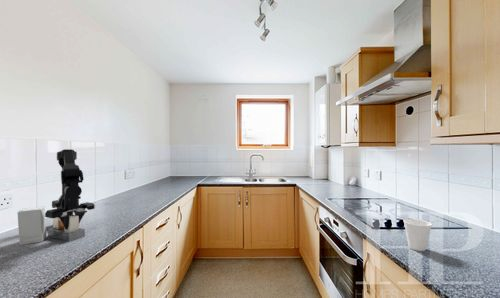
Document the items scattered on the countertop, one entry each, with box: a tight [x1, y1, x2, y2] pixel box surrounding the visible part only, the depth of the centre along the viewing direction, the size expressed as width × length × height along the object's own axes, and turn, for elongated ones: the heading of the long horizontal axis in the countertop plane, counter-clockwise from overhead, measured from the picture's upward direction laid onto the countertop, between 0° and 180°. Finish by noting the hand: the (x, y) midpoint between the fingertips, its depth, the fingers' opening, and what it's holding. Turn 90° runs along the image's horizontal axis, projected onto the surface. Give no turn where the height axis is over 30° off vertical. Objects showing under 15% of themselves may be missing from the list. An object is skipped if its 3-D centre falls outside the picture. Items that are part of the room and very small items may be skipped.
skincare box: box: [17, 206, 47, 246], centre depth 111 cm, size 8×6×15 cm
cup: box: [403, 218, 433, 252], centre depth 103 cm, size 10×10×11 cm
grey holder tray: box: [47, 217, 86, 242], centre depth 117 cm, size 16×7×8 cm, turn 66°
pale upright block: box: [64, 214, 80, 233], centre depth 116 cm, size 4×4×7 cm
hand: (71, 228), depth 115 cm, fingers closed on pale upright block, 4 cm apart
